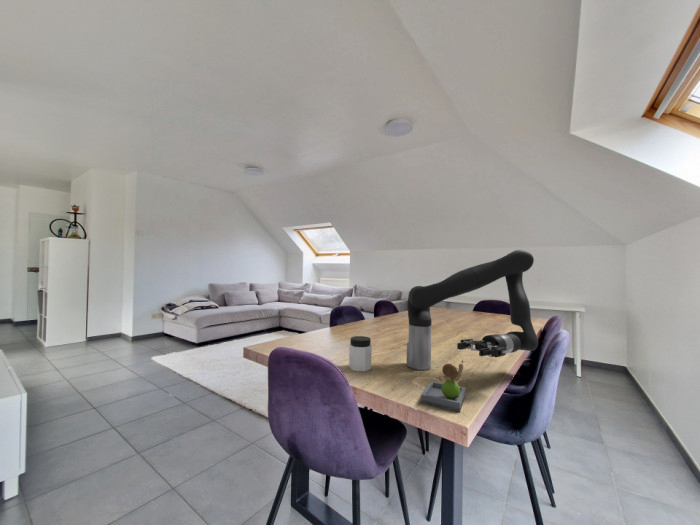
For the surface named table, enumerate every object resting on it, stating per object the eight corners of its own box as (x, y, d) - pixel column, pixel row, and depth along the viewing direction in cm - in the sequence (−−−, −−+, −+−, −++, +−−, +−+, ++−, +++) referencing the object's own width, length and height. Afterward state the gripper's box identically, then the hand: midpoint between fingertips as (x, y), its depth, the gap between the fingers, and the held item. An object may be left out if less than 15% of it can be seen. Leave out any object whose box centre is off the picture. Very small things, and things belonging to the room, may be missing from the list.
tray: (420, 403, 89) (421, 394, 89) (430, 388, 100) (431, 380, 100) (459, 412, 83) (459, 403, 83) (465, 395, 95) (465, 387, 95)
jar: (346, 365, 121) (346, 336, 122) (364, 363, 125) (364, 335, 125) (355, 373, 113) (355, 341, 113) (374, 370, 116) (374, 340, 117)
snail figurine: (462, 404, 86) (462, 362, 86) (439, 399, 89) (439, 359, 89) (465, 397, 90) (464, 358, 91) (443, 393, 94) (443, 355, 94)
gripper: (480, 330, 114) (451, 333, 106) (517, 338, 102) (488, 343, 93) (479, 350, 114) (451, 355, 105) (516, 360, 102) (487, 367, 93)
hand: (468, 349), depth 99 cm, fingers open, 8 cm apart
